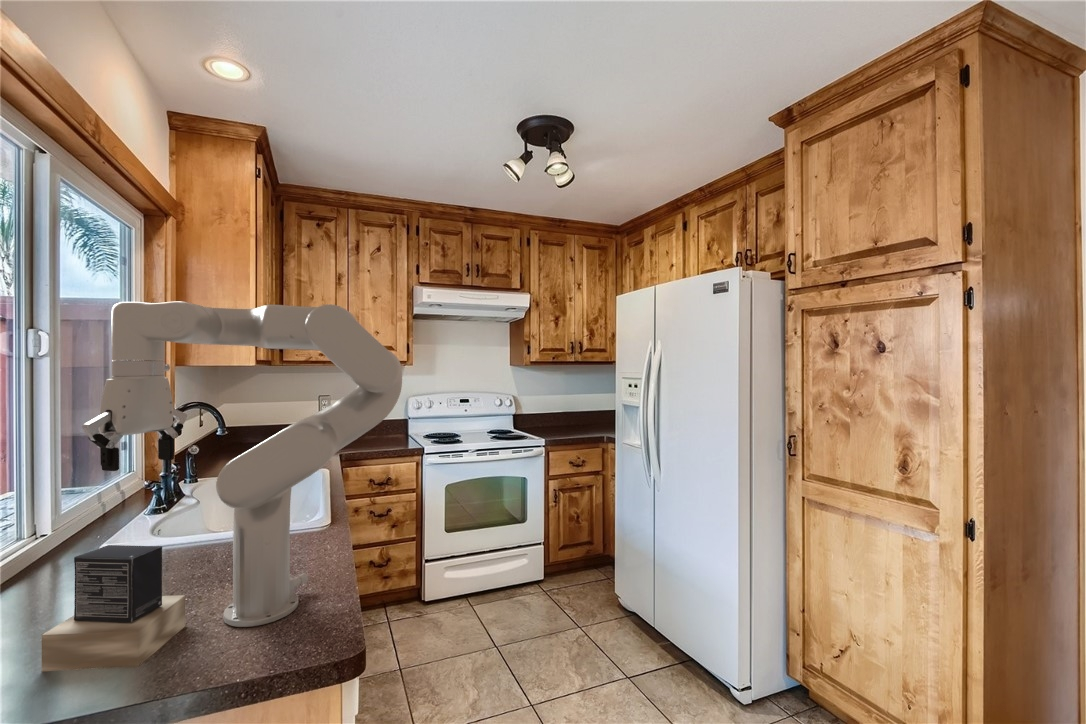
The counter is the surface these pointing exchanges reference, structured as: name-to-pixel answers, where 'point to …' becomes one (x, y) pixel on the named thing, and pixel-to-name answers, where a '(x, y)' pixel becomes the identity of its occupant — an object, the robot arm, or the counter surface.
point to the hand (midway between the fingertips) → (139, 464)
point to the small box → (118, 583)
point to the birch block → (112, 639)
